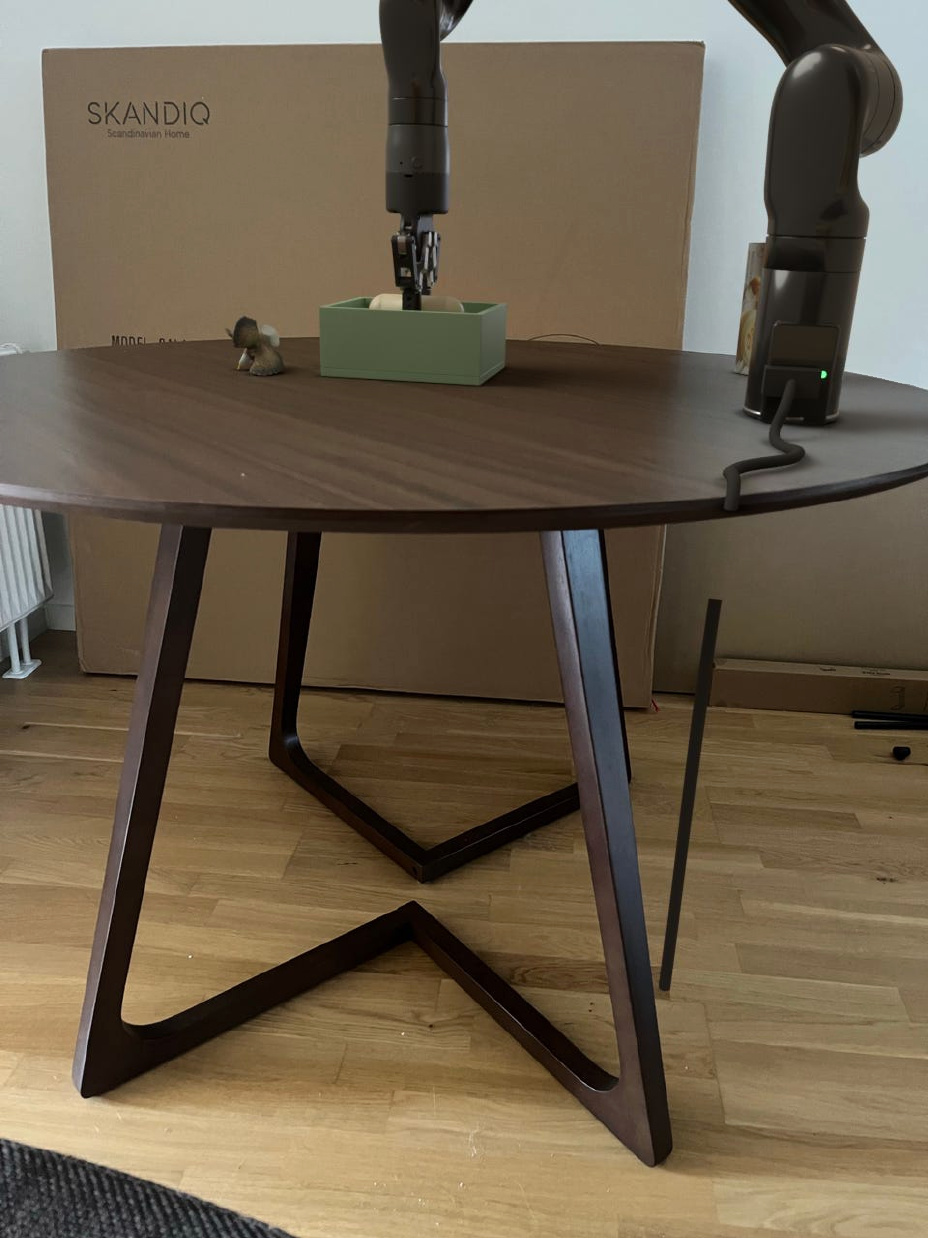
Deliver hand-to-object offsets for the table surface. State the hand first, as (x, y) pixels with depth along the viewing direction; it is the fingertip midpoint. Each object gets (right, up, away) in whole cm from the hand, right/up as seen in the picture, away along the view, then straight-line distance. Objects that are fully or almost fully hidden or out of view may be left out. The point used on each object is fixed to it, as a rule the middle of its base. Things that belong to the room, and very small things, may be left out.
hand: (416, 321), depth 122 cm
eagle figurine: (-20, -6, +1) cm, 21 cm away
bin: (0, -6, +2) cm, 6 cm away
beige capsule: (0, -1, 0) cm, 1 cm away
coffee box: (+46, -6, +5) cm, 46 cm away
